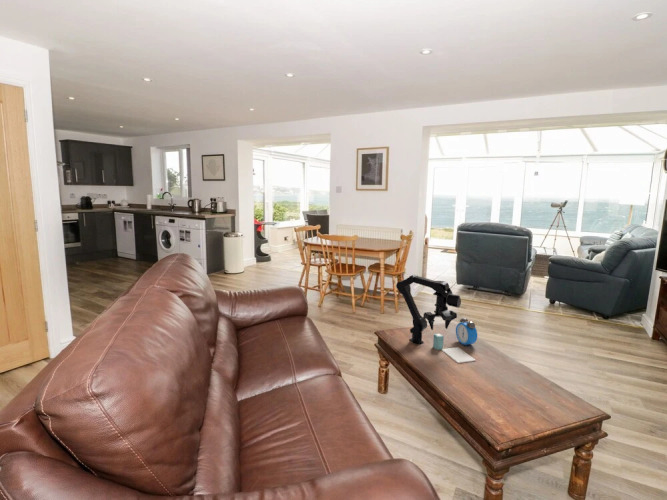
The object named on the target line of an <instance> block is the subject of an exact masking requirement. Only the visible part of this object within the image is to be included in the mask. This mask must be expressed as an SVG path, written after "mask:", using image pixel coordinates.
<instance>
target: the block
mask: <svg viewBox="0 0 667 500" xmlns="http://www.w3.org/2000/svg"><path fill="white" fill-rule="evenodd" d="M444 339H445V336H444V335H443V334H441V333H434V334H433V342H432V347H433V349H435V350H436V351H437V350H438V351H439V350H440V351H441V350H442V349H444Z"/></svg>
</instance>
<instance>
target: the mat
mask: <svg viewBox="0 0 667 500" xmlns="http://www.w3.org/2000/svg"><path fill="white" fill-rule="evenodd" d="M441 351H442V352H443V353H444V354H445V355H446V356H448V357H449V358H450V359H452V360H453V361H454V362H456V363H457V364H462V363H463V364H464V363H470V362H476V359H475V358H474V357H472V356H471V355H469V353H467V352H465V351H464V350H463V349H461V348H460V347H449V348H443V349H441Z"/></svg>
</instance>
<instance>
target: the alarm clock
mask: <svg viewBox="0 0 667 500" xmlns="http://www.w3.org/2000/svg"><path fill="white" fill-rule="evenodd" d="M455 336H456V338H457V340H458V342H459V343H461V345H463V346H464V345H465V346H467V345H472V344H475V343H476V342H477V341H478V330H477V327H476V324H475V323H474V321H469V319H468V318H465V317H463V318H460V319H459V322H458V323H457V325H456V327H455Z"/></svg>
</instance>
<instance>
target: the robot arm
mask: <svg viewBox="0 0 667 500" xmlns="http://www.w3.org/2000/svg"><path fill="white" fill-rule="evenodd" d="M413 283H414V284H418V285H421V286H424V287H427V288H430V289H432V290H433V291H434V293H432V295H433V296H435V297H436V298H435V301H436V303H435V304H434V306H435V310H434V311H433V313H432V312H431V311H427V312H423V315H421V313H420V312H419V309H418V307H417V304H416V302H415V300H414V298H413V295H412V292H411V289H412V288H411V285H412V284H413ZM395 286H396V289H397V291H398V293H400V294H401V295H402V297H403V299H404V301H405V303H406V306H407V308H408V310H409V312H410V315H411V318H412V325H413V327H412V328H410V329H409V332H410V334H411V338H408V339H409V341H410V342H411V343H412V344H414V345H416V344H424V341H423V332H424V330H426V329H427V327H428V324H429V327H430V329H431V331H433V330H434V322H435V318H441V319H442V320H443V321H444V326H445V330H446V329H448V327H449V326H450V324H451V322H452V321H453V320H455V319H457V318H458V314H457V312H455V311H454V310H452V309H451V310H449V309H448V308H449V307H455V308H458V309H459V308H460V307H461V304H462V299H461V295H460V294H454V293H453V292H452V289H451V287H450V285H449V283H448V281H444V280H432V279H430V278H425V277H422V276H419V275H416V274H412V275H409V277H407V278H405V279H402V280H399V281H398V282H397V283H396V285H395ZM448 306H449V307H448Z"/></svg>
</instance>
